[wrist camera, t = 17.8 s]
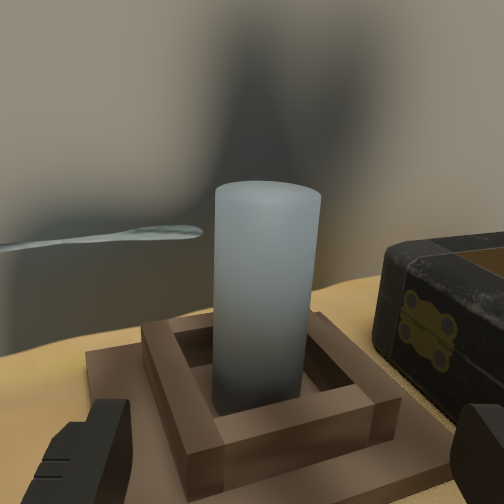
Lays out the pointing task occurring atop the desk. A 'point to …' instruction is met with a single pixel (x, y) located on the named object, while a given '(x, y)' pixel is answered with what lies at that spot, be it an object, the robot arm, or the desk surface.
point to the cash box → (445, 318)
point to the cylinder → (261, 292)
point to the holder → (268, 425)
